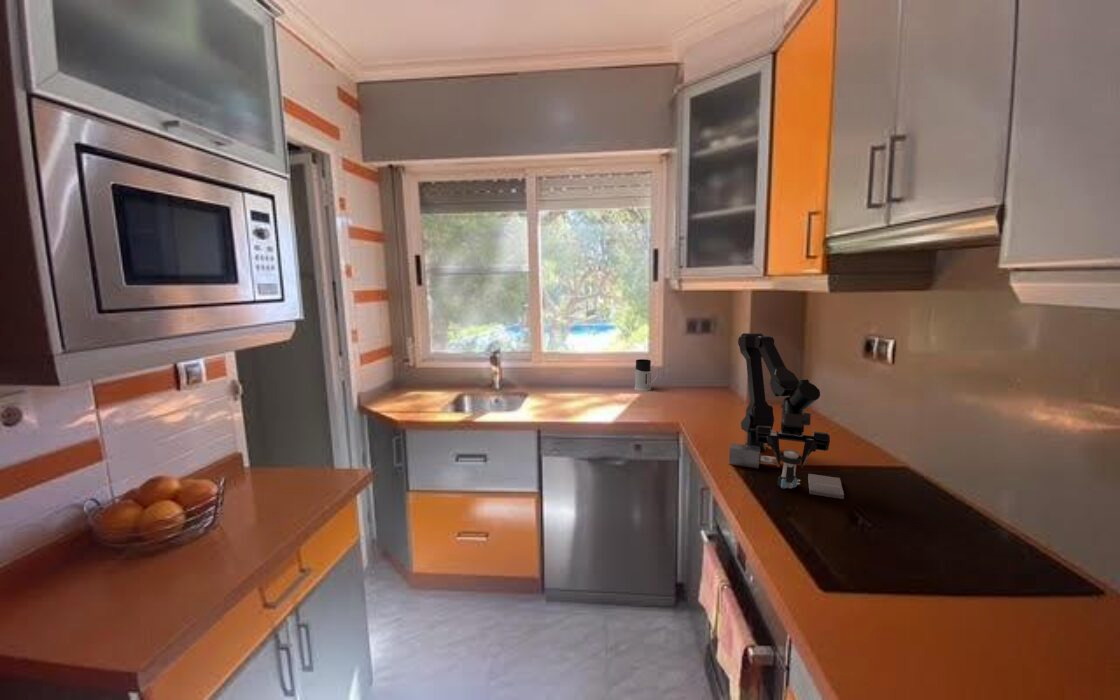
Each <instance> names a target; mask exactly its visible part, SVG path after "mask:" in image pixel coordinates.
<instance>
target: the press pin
mask: <svg viewBox="0 0 1120 700" xmlns="http://www.w3.org/2000/svg"><path fill="white" fill-rule="evenodd" d="M759 463H763V464H768V465H769V464H771V465H775V466H776V467H778V468H780V465H781V464H780V465H779V464H778V462H777V459H776V456H769V455H762V454H760V455H759Z"/></svg>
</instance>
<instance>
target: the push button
mask: <svg viewBox="0 0 1120 700" xmlns="http://www.w3.org/2000/svg"><path fill="white" fill-rule="evenodd" d="M801 459H802V456H801V455H800V454H799V452H798V451H796V450H791V449H785V450H784V451H782V452H781V453H780V461H781V462H783V464H782V473H781V475H779V476H777V483H776V485H777V486H779V487H780V488H781V489H793V488H796V487H797V486H798V485H801V483H800V482H801V479H798V478H797V477H796V472H797V471H796V470H797V465H799V464H800V465H801Z"/></svg>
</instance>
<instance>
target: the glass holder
mask: <svg viewBox="0 0 1120 700" xmlns="http://www.w3.org/2000/svg"><path fill="white" fill-rule="evenodd" d="M651 362H652V361H651V360H650V359H646V358H644V359H643V358H641V359H636V360H635V374H634V375H635V382H634V384H635V385H634V389H633V390H635V391H638V392H639V391H640V392H647V391H651V390H652V387H651V385H652V384H653V383H654V382H655V381H656V380H657V377H658V376H659V372H660V371H659V366H658V365H657V364H652V363H651ZM653 367H656V369H657V370H656V376H655V378H654V379H653V380H652V379H651V377H652V372H653ZM651 380H652V381H651Z"/></svg>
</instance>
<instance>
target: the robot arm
mask: <svg viewBox="0 0 1120 700" xmlns="http://www.w3.org/2000/svg"><path fill="white" fill-rule="evenodd" d="M737 344H738V346H739V351H740V352H739V353H740V354H741V355H742V356H743V358H744V359H745V361H746V362H745V363H746V370H747V371H746V372H747V373H746V374H747V382H748V391H749V392H748V393H749V404H748V406H747V407H746V410H745V417H743V419H742V420H741V422H740V428H741V430H743V431H744V432H746V442H745V444H744V445H750V446H758V447H760V452H764V453H765V452H766V449H767V446H768V447H770V448H771V450H772V452H773V453H774V457H776V459H777V462H778V464H779V465H781V464H780V463H781V456H780V454H781V453H780V440H783V441H792V442H798V443H804V445H803V450H802V456H801V457H802V459H801V460H800V468H803V467H804V466H805V463H806V460H807V459H808V457H809V456H810V454H811V453H812V452H813V453H814V452H817V451H823V452H826V451H829V449H830V447H829V446H830V442H831V435H830V434H829V433H828V432H824V431H823V432H822V431H813V434H812V435H807V434H806V435H805V434H804V432H805V426H811V414H812V413H810V412H809V413H808V412H805V410H807V409H808V408H810V407H811V406H812V405H813V404H814V403H815V402H816V401H817V400H819V398H820V396H821V391H820V389H819V387H817V386H816V385H815V384H813V383H812V382H810V380H809V379H807V378H806V379H800V380H799V379H798V377H797V375H796V374H795V373H794V372H792V371H791V370H790V369H788V367H786V365H785V362H784V361H783V359H782V356H781V355H780V353H779V351H778V348H777V347H776V344H775V339H774V337H773V336H770V335H764V334H763V333H761V332H753V333H752V332H748V333H746V332H745V333H742V334H741V335H740V336H739V337H738V339H737ZM762 359H763V361H764V364H765V366H766V368H767V370H768V373H769V374H770V375H769V376H770V381H769V385H770V391H771V392H772V394H773V396H775V397H777V398H784V399H783V400H782V403H781V405H780V409H781V408H782V411H781V420H780V421H781V422H780V431H777V430H773V427H774V423H775V416H774V408H773V406H772V405H769V403H768V402H767V399H766V391H765V390H766V389H765V382H764V381H765V379H764V370H763V361H762Z"/></svg>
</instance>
